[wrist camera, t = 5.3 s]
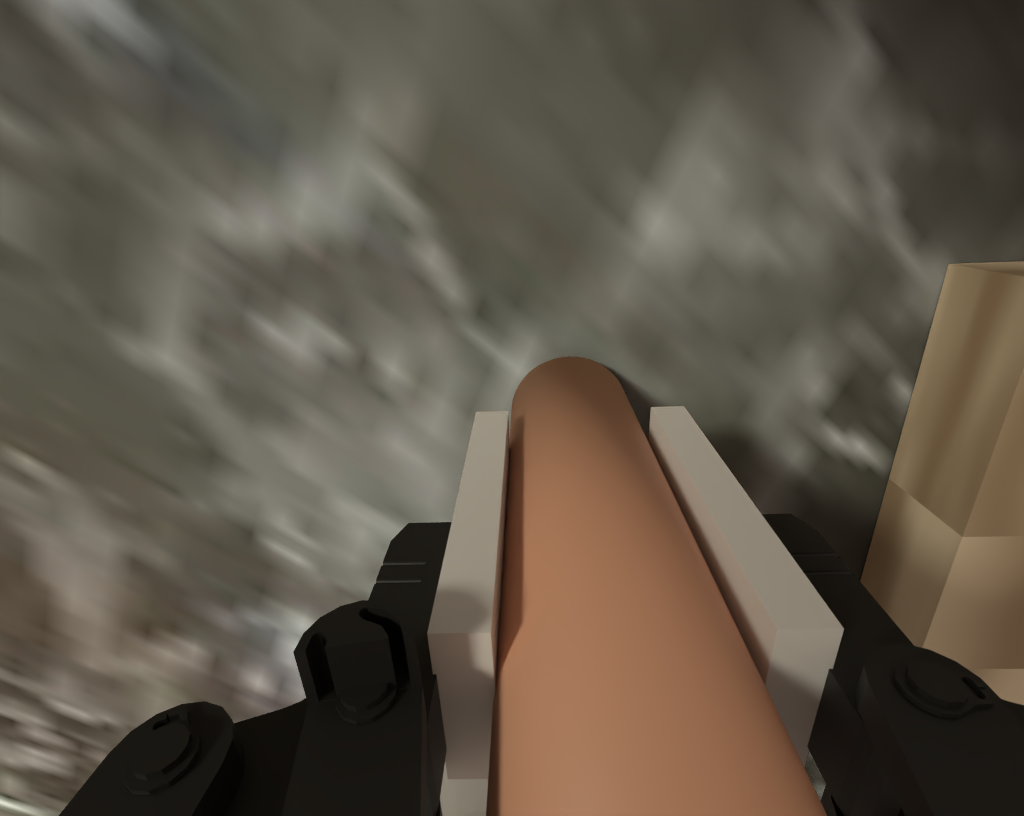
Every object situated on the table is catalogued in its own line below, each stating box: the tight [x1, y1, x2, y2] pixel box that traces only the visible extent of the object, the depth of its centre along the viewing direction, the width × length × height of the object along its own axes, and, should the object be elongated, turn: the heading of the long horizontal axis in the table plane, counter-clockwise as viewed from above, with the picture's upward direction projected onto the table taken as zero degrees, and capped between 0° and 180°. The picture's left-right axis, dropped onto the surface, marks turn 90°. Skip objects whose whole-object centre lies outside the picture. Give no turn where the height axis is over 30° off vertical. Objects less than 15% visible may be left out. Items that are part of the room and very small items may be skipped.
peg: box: [486, 357, 827, 816], centre depth 9 cm, size 3×3×14 cm
